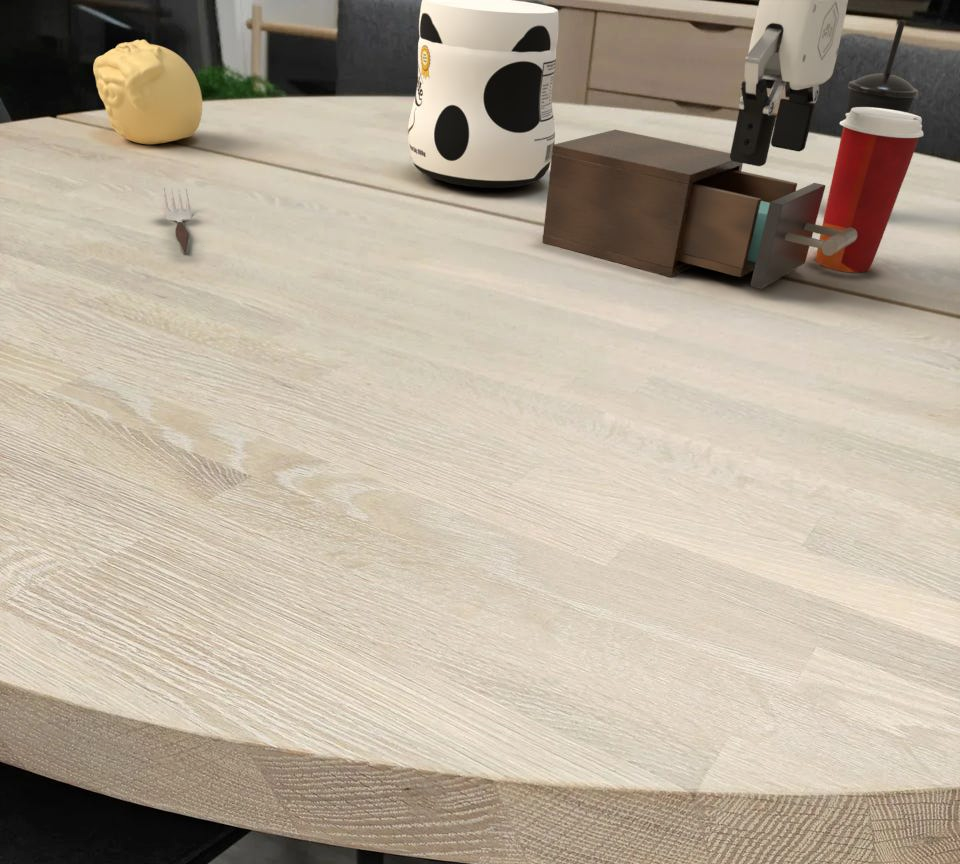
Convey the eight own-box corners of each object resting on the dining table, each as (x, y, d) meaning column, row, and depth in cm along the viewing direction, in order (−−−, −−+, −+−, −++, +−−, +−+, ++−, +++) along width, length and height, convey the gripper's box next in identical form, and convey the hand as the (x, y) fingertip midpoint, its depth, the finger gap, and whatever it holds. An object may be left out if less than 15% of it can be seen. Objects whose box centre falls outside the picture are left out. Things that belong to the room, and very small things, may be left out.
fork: (170, 257, 89) (168, 234, 88) (163, 209, 101) (161, 188, 100) (200, 257, 90) (198, 234, 88) (190, 209, 102) (188, 188, 100)
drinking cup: (813, 215, 119) (865, 19, 106) (817, 201, 124) (867, 14, 112) (879, 225, 117) (940, 27, 105) (880, 210, 123) (937, 22, 111)
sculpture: (88, 133, 124) (73, 33, 117) (176, 127, 131) (166, 31, 124) (132, 153, 118) (118, 48, 111) (222, 145, 124) (214, 45, 118)
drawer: (853, 275, 97) (876, 195, 92) (813, 302, 89) (837, 217, 85) (682, 233, 104) (696, 157, 100) (632, 254, 97) (645, 174, 92)
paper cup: (884, 262, 105) (931, 114, 96) (875, 281, 99) (924, 125, 90) (810, 247, 107) (849, 102, 98) (797, 265, 101) (837, 112, 93)
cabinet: (724, 251, 103) (744, 156, 98) (671, 277, 95) (690, 174, 89) (602, 220, 110) (615, 129, 104) (542, 242, 101) (552, 144, 95)
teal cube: (731, 243, 99) (742, 196, 96) (773, 253, 97) (785, 206, 94) (713, 252, 96) (723, 203, 93) (756, 263, 94) (768, 214, 91)
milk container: (388, 163, 124) (391, -9, 113) (516, 162, 129) (531, -2, 118) (434, 200, 111) (442, 10, 100) (573, 197, 117) (595, 17, 106)
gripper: (828, -72, 73) (771, 178, 83) (895, -68, 85) (838, 150, 95) (733, -81, 76) (690, 161, 87) (811, -76, 88) (764, 137, 98)
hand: (767, 155), depth 91 cm, fingers open, 9 cm apart
